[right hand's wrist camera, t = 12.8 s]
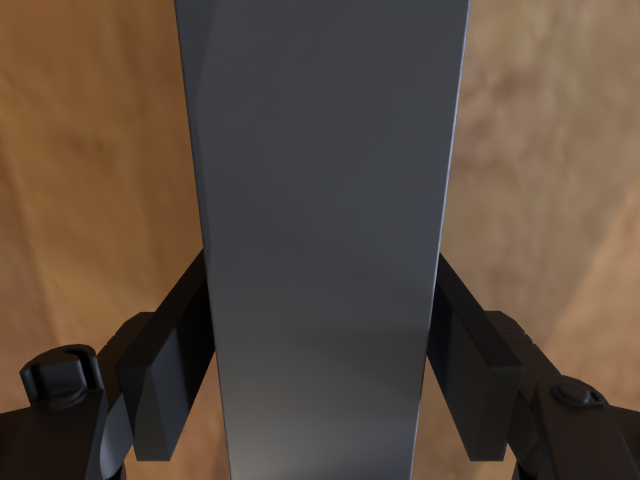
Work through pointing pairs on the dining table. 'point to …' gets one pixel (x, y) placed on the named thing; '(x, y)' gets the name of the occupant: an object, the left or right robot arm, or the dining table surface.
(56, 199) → the dining table surface
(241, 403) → the post
